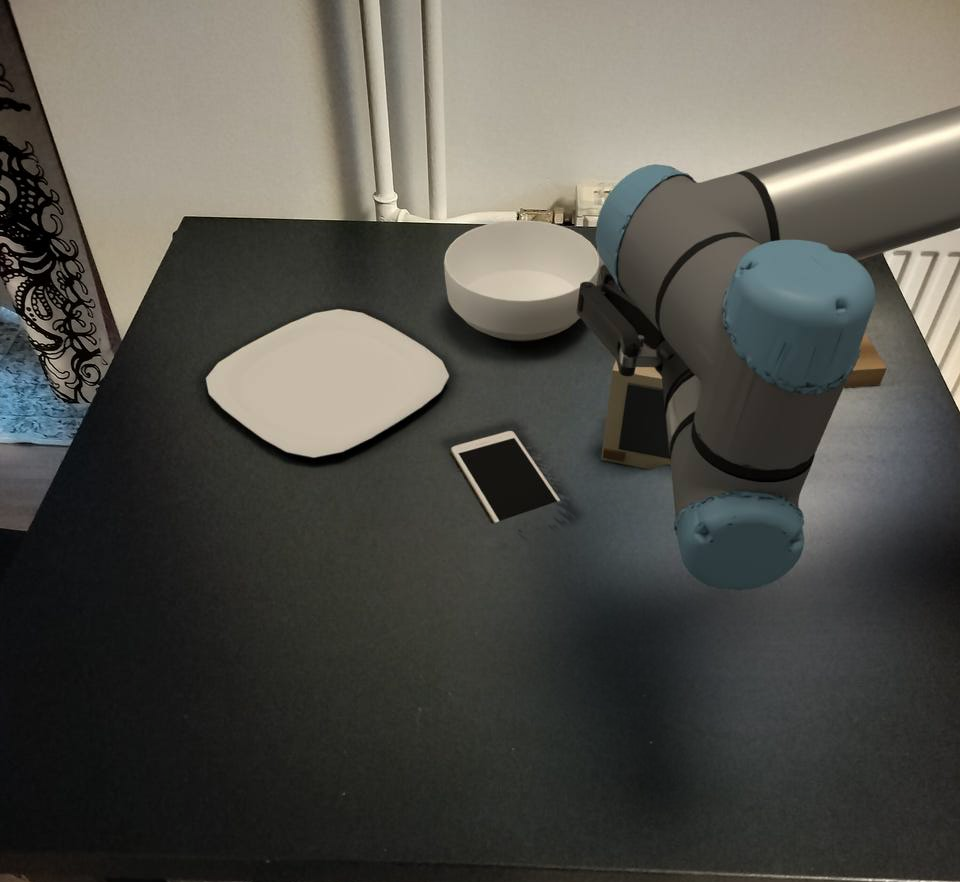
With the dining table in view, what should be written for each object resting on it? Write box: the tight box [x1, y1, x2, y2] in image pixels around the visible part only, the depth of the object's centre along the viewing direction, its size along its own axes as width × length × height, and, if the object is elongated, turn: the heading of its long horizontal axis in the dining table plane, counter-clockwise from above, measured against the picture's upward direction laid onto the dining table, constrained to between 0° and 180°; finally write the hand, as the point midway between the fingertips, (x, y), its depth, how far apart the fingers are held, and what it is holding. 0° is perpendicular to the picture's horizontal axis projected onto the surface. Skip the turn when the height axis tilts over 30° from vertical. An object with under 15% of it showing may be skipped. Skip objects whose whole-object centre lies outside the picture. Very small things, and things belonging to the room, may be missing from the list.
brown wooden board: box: [844, 332, 888, 388], centre depth 114 cm, size 20×12×2 cm, turn 5°
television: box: [600, 360, 671, 470], centre depth 97 cm, size 16×8×12 cm, turn 73°
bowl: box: [443, 219, 599, 342], centre depth 115 cm, size 20×20×8 cm
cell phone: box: [450, 430, 561, 524], centre depth 98 cm, size 8×16×1 cm, turn 22°
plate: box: [205, 308, 450, 460], centre depth 109 cm, size 25×25×2 cm
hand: (694, 259), depth 77 cm, fingers open, 13 cm apart
